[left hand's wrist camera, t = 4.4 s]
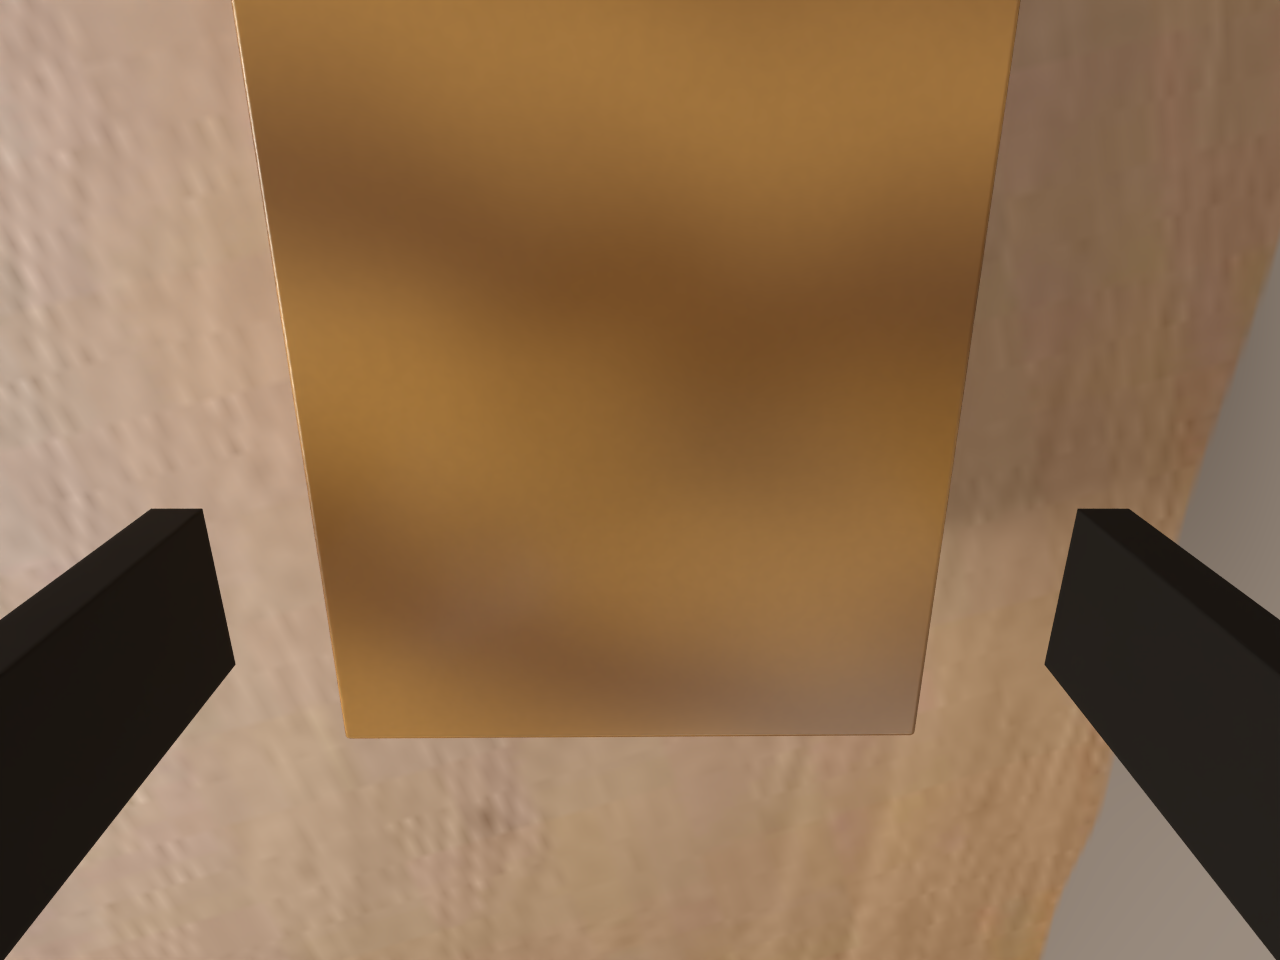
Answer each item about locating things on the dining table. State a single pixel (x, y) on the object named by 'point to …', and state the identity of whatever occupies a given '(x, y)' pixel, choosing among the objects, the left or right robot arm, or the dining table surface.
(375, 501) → the wooden rectangular box
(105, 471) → the dining table surface
